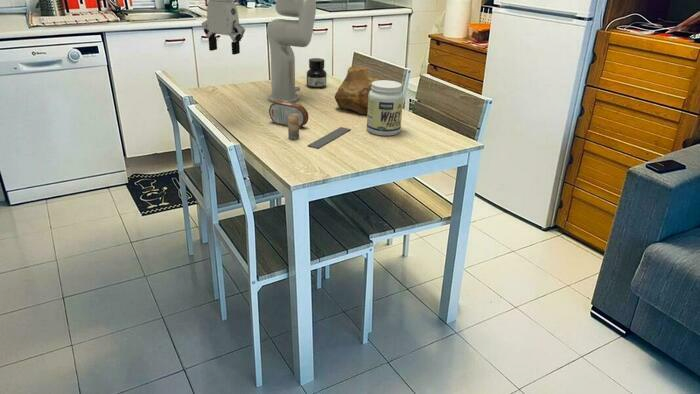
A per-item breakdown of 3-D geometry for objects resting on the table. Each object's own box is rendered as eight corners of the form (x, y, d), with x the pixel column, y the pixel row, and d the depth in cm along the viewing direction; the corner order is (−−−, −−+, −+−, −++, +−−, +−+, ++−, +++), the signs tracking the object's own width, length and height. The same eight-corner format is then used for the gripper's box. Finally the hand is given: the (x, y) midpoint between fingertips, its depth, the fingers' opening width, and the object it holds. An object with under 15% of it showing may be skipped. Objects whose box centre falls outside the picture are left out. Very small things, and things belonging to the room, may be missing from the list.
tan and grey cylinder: (292, 135, 181) (292, 112, 177) (301, 137, 179) (301, 114, 176) (286, 138, 178) (285, 115, 174) (295, 140, 176) (295, 117, 173)
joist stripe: (340, 128, 189) (340, 127, 189) (350, 130, 188) (350, 129, 188) (307, 146, 172) (307, 145, 172) (318, 148, 170) (318, 147, 170)
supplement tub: (377, 138, 181) (380, 89, 174) (360, 127, 191) (362, 80, 183) (407, 134, 186) (411, 86, 179) (389, 123, 196) (392, 78, 189)
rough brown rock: (325, 104, 218) (323, 68, 210) (361, 97, 224) (361, 62, 216) (349, 123, 200) (348, 84, 192) (388, 115, 205) (388, 77, 198)
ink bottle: (307, 89, 235) (307, 62, 230) (304, 84, 243) (304, 57, 237) (328, 88, 237) (329, 61, 232) (325, 83, 245) (325, 57, 239)
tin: (308, 127, 189) (309, 104, 185) (304, 130, 186) (304, 107, 182) (272, 120, 194) (272, 98, 190) (267, 123, 192) (267, 100, 188)
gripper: (249, -2, 168) (252, 53, 176) (208, -6, 176) (212, 47, 183) (234, 0, 162) (237, 57, 170) (191, -5, 170) (196, 50, 177)
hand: (224, 51), depth 177 cm, fingers open, 9 cm apart
